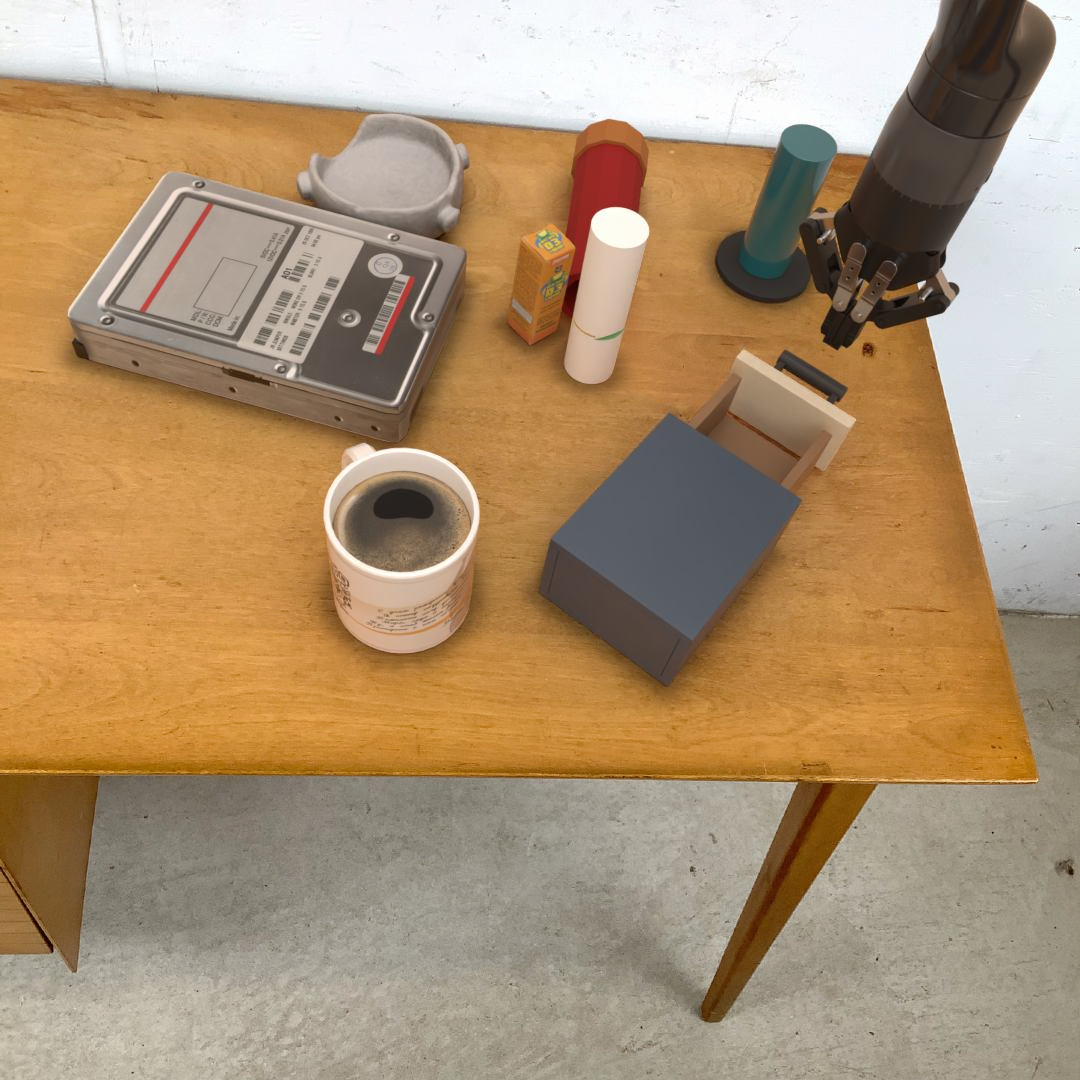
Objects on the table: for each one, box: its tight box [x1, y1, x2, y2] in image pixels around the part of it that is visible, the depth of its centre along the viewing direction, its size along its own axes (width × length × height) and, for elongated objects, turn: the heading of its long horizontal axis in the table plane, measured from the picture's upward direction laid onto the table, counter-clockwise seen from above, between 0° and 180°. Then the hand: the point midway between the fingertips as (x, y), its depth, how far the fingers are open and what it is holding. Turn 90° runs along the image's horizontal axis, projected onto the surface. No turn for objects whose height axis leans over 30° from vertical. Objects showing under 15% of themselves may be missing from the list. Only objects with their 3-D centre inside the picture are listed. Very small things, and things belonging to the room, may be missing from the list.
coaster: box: [714, 229, 812, 304], centre depth 95 cm, size 9×9×1 cm
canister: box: [738, 123, 838, 279], centre depth 89 cm, size 5×5×13 cm
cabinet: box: [538, 412, 803, 688], centre depth 73 cm, size 15×12×8 cm
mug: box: [322, 442, 481, 654], centre depth 69 cm, size 10×12×11 cm
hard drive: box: [67, 170, 468, 443], centre depth 83 cm, size 18×27×4 cm
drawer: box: [687, 348, 857, 495], centre depth 79 cm, size 18×10×6 cm, turn 142°
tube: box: [563, 207, 650, 385], centre depth 80 cm, size 4×4×15 cm
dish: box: [295, 112, 471, 240], centre depth 92 cm, size 14×14×5 cm
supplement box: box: [507, 223, 575, 346], centre depth 83 cm, size 3×3×10 cm
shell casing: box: [561, 118, 650, 320], centre depth 91 cm, size 7×20×7 cm, turn 173°
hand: (835, 340), depth 82 cm, fingers closed
